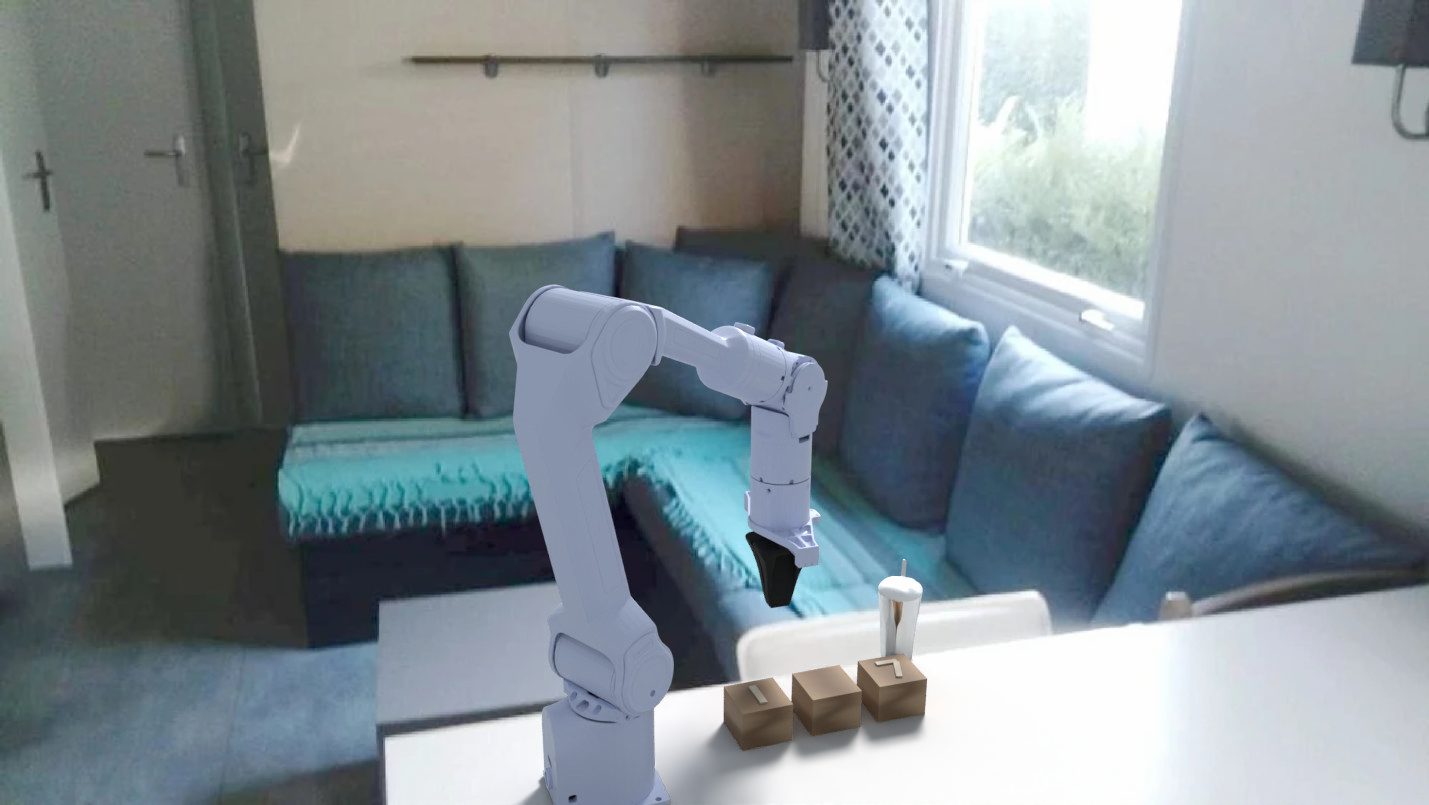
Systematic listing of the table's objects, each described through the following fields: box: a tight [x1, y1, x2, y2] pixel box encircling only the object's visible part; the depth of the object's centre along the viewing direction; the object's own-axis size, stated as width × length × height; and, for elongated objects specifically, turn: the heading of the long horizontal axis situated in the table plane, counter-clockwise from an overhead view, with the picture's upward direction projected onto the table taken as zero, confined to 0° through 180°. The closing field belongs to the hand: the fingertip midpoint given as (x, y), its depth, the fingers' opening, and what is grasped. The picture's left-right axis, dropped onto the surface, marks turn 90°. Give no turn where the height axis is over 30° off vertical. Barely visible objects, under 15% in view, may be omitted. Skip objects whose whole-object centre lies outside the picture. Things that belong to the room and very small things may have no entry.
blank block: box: [790, 664, 862, 737], centre depth 110 cm, size 5×5×4 cm
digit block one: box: [723, 677, 794, 752], centre depth 108 cm, size 5×5×4 cm
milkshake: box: [877, 559, 924, 662], centre depth 120 cm, size 4×5×10 cm
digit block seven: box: [856, 654, 928, 723], centre depth 112 cm, size 5×5×4 cm
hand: (777, 603), depth 113 cm, fingers closed
